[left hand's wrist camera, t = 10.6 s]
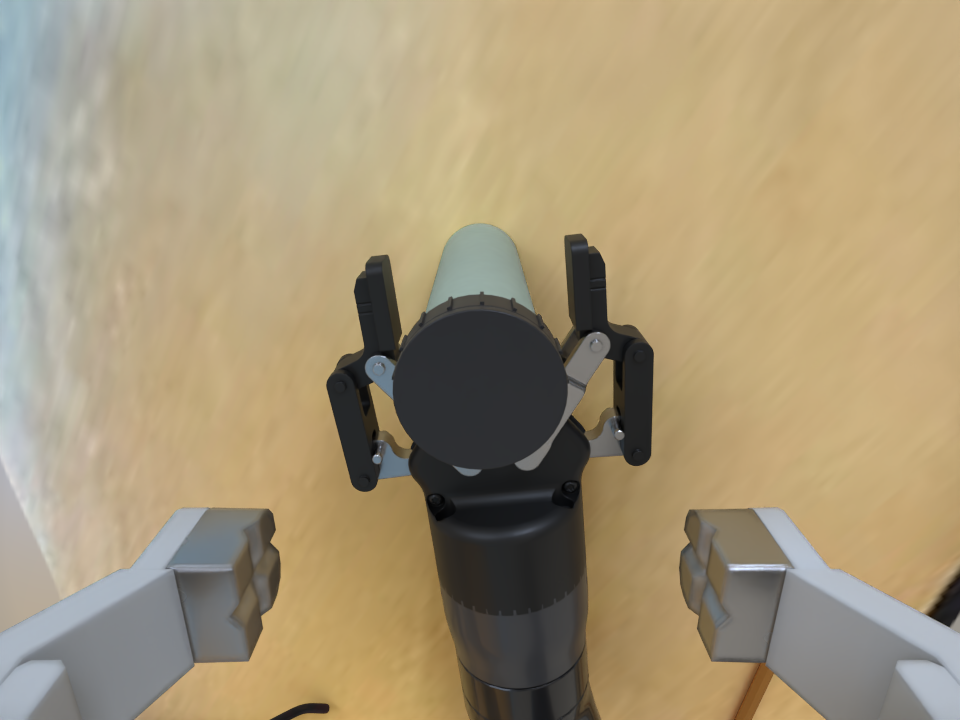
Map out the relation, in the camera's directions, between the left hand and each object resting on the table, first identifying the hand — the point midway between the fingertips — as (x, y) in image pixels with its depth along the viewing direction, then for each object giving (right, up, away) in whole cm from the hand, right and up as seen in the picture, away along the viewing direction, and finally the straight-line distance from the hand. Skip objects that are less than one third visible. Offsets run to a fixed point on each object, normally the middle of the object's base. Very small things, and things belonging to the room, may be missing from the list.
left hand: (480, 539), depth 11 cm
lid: (0, +2, +6) cm, 7 cm away
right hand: (0, +8, +15) cm, 17 cm away
